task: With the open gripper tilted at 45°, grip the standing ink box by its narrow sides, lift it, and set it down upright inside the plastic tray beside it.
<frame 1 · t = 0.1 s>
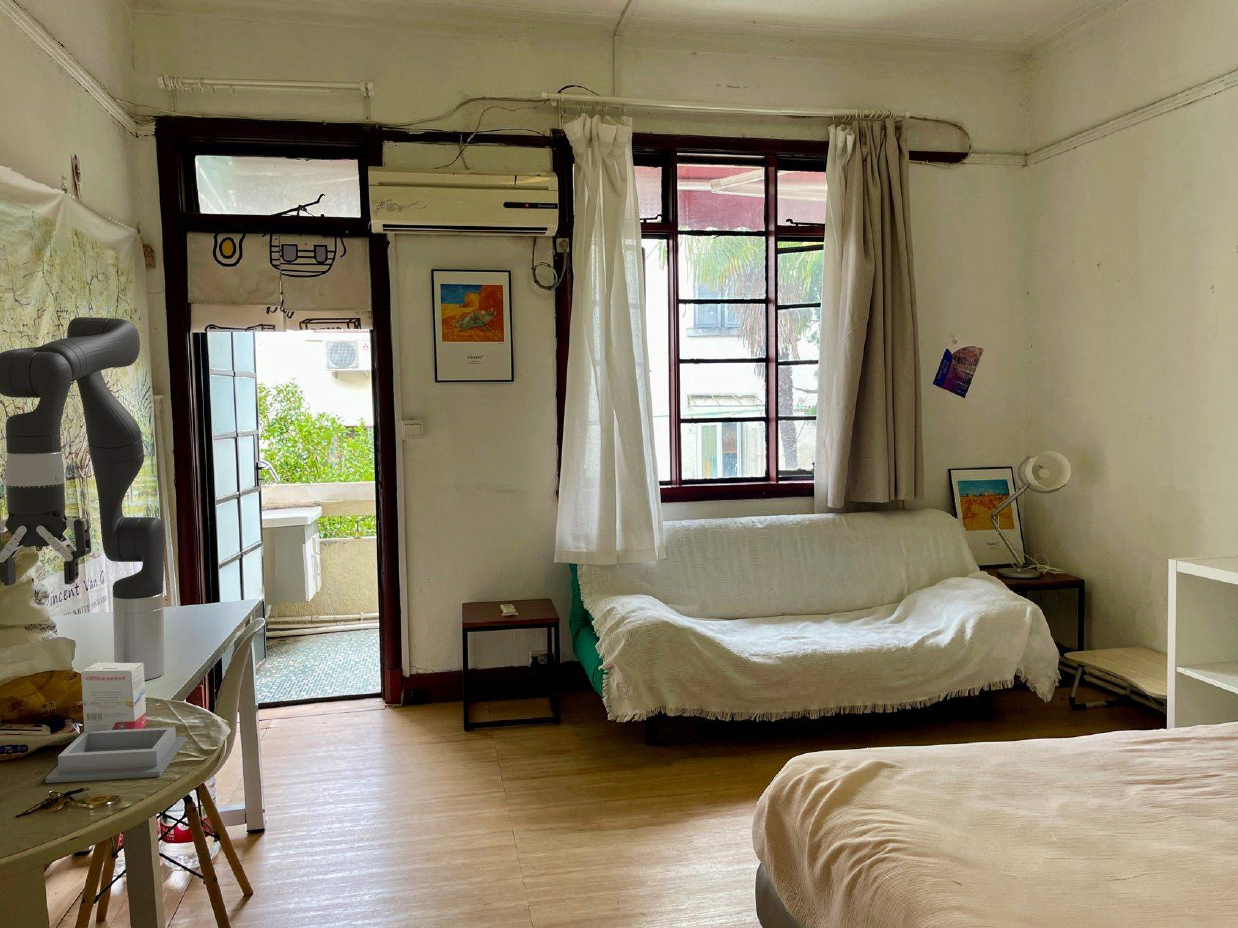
hand: (39, 584, 137), 29 cm above the table, tool pointing down, fingers open, 8 cm apart
tray: (119, 760, 142), on the table
ink box: (115, 733, 153), on the table
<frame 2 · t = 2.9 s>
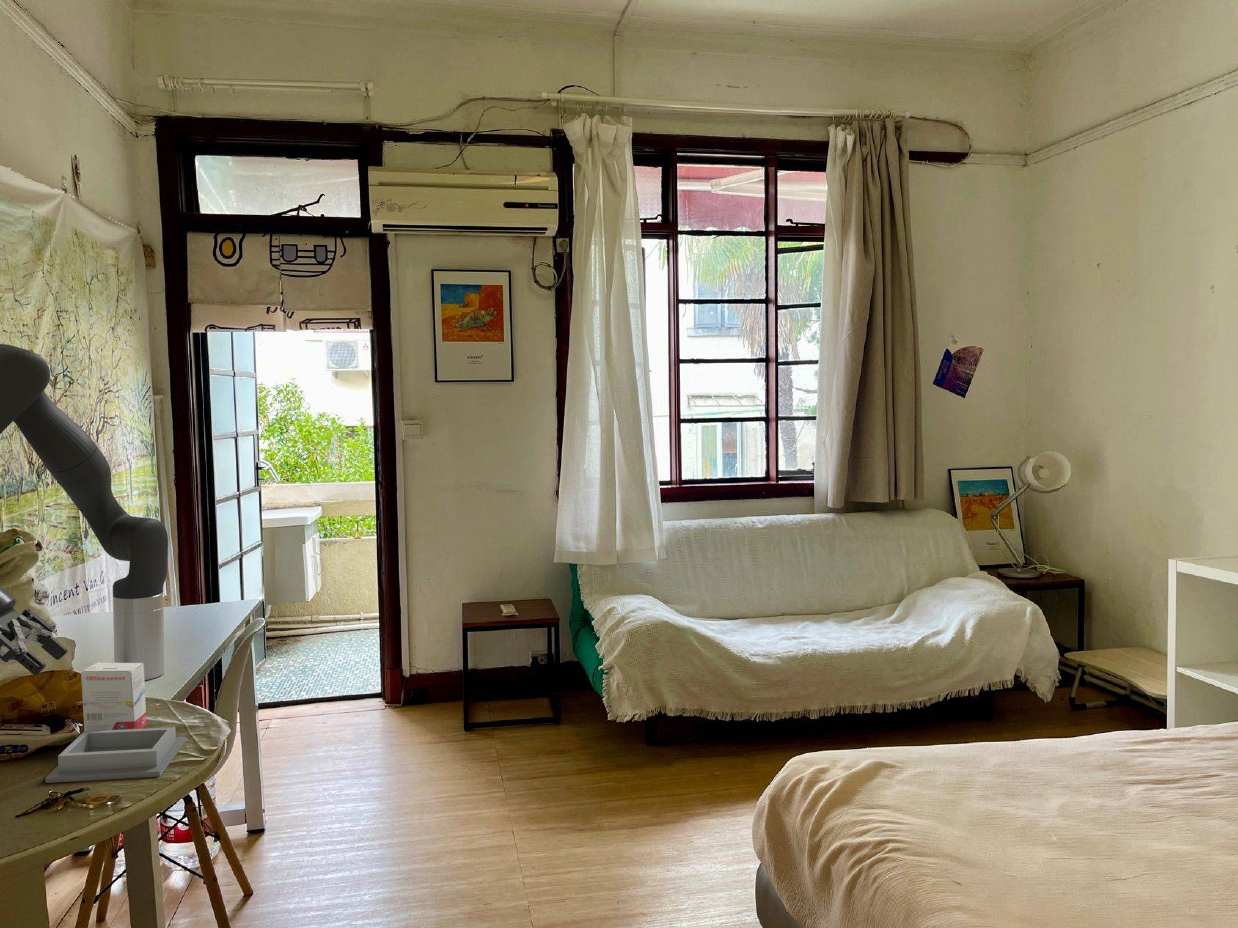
hand: (52, 662, 150), 13 cm above the table, tool tilted 45°, fingers open, 8 cm apart
nothing on the table moved.
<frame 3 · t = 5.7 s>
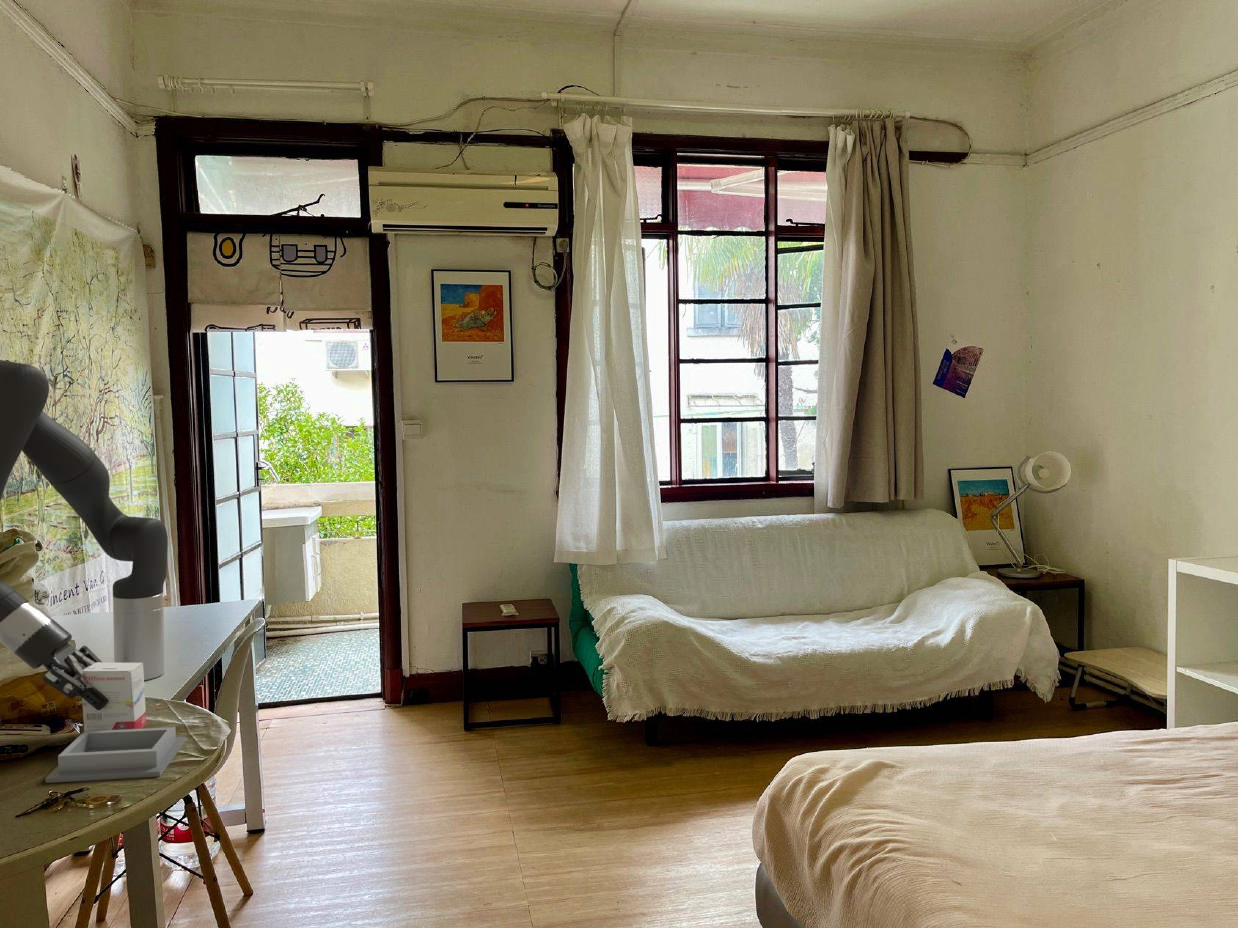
hand: (110, 699, 153), 6 cm above the table, tool tilted 45°, fingers closed on ink box, 5 cm apart
ink box: (115, 732, 153), on the table, touching gripper
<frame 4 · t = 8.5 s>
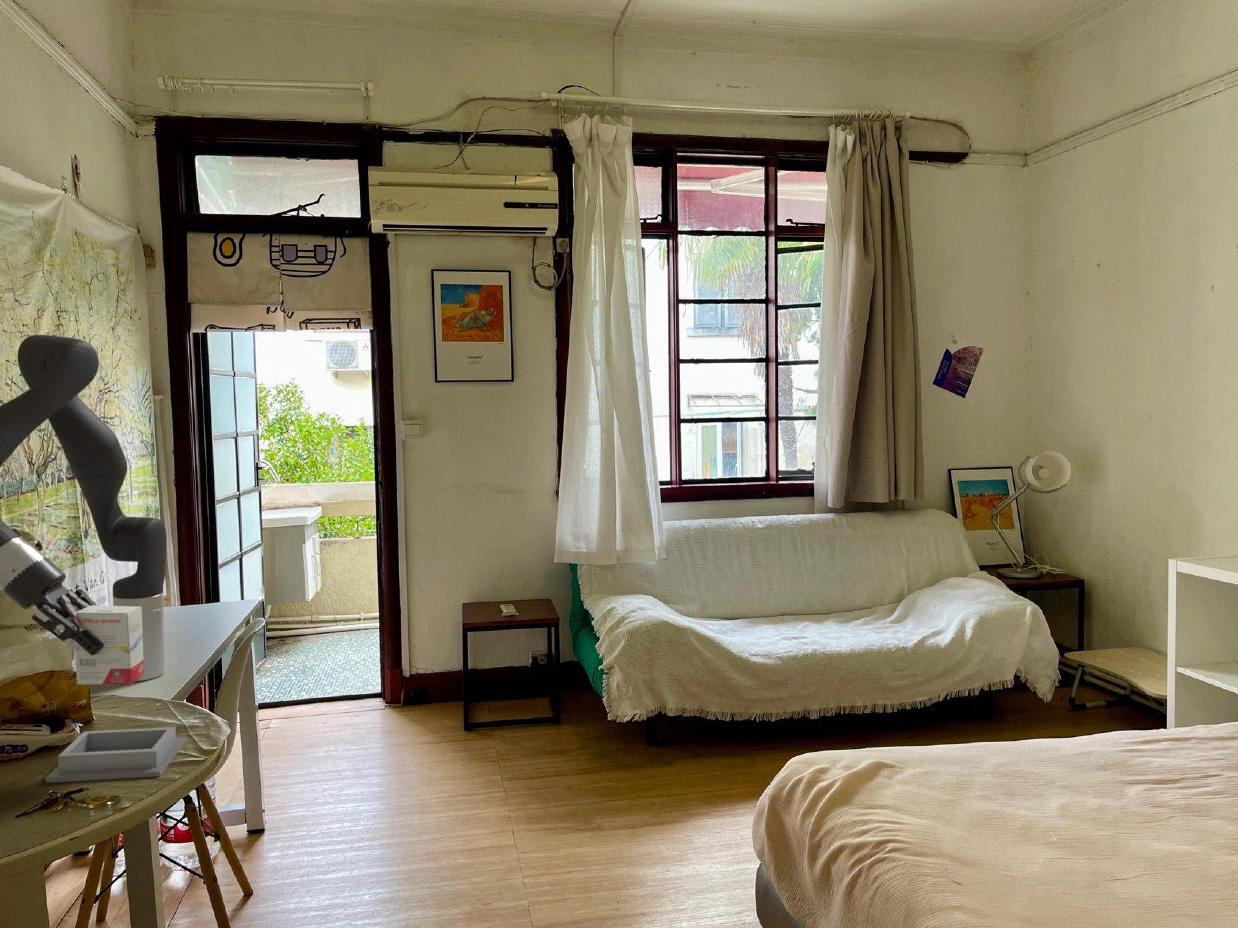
hand: (106, 645, 141), 19 cm above the table, tool tilted 45°, fingers closed on ink box, 5 cm apart
ink box: (110, 681, 142), point 13 cm above the table, touching gripper
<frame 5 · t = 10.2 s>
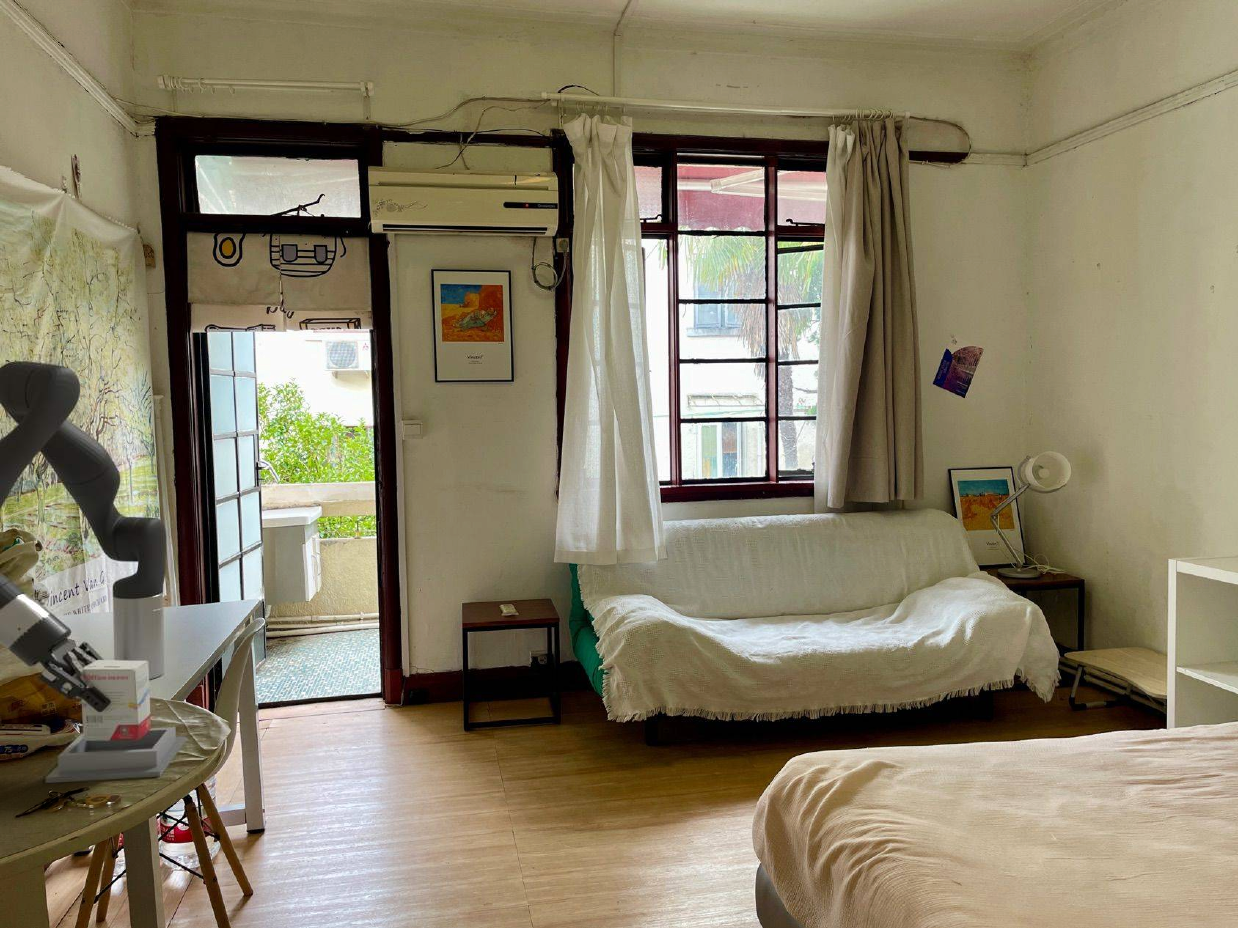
hand: (112, 700, 141), 10 cm above the table, tool tilted 45°, fingers closed on ink box, 5 cm apart
ink box: (117, 736, 141), point 4 cm above the table, touching gripper
when the fingers open (8 cm above the table, at t = 11.5 s): ink box drops 1 cm, resting on tray.
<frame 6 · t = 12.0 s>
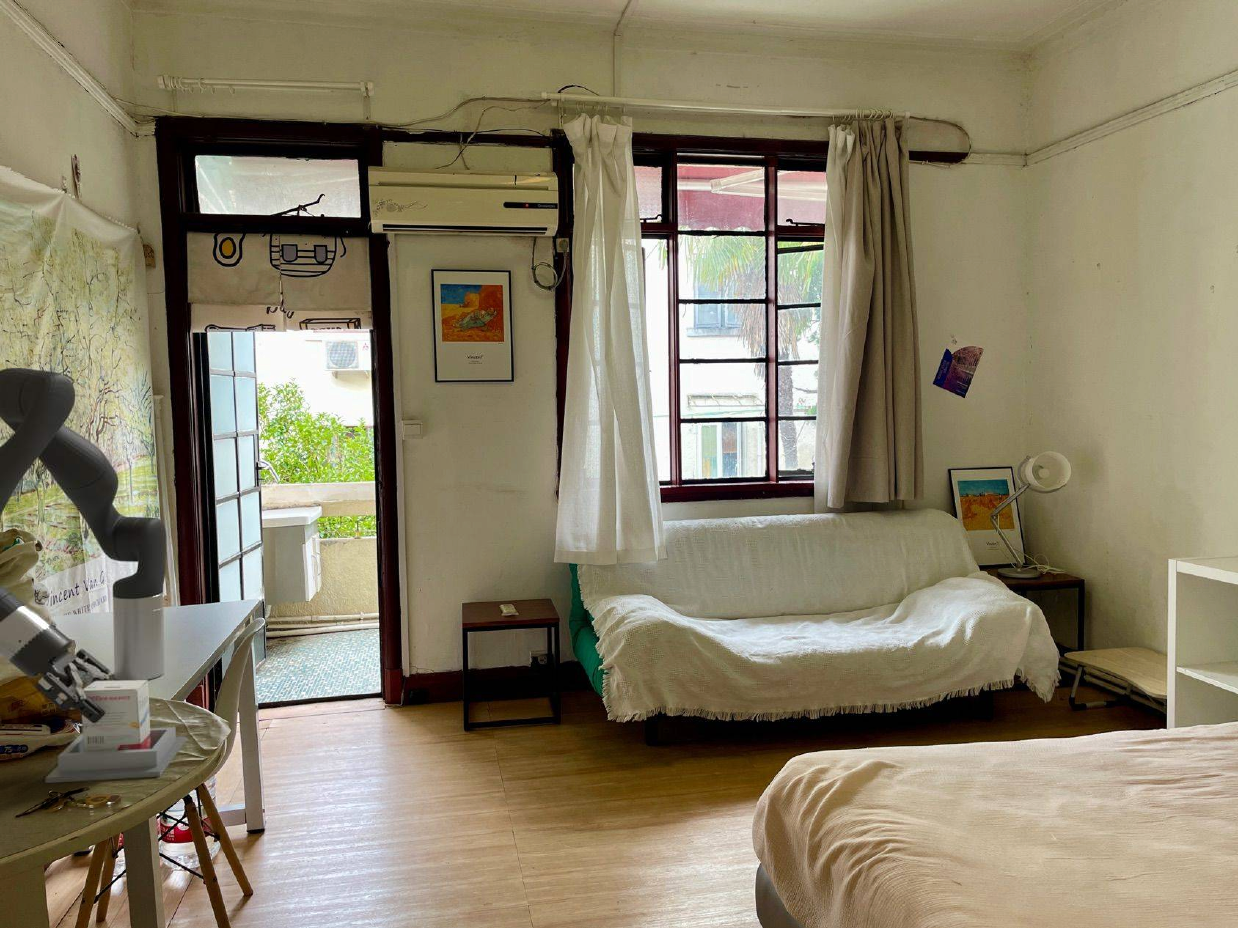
hand: (110, 708, 141), 9 cm above the table, tool tilted 45°, fingers open, 8 cm apart
ink box: (117, 756, 142), point 1 cm above the table, touching tray
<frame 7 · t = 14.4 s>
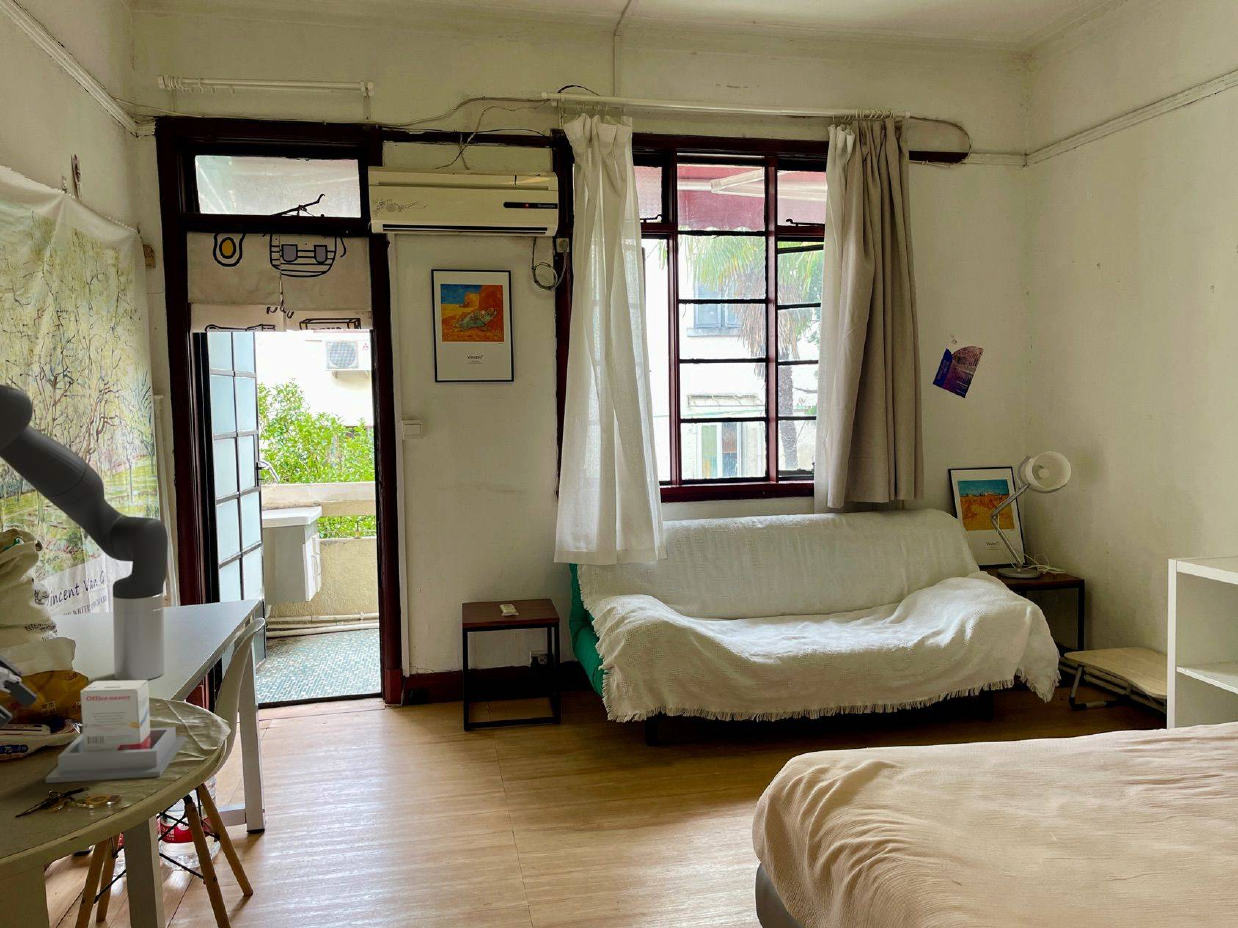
hand: (20, 712, 138), 9 cm above the table, tool tilted 45°, fingers open, 8 cm apart
nothing on the table moved.
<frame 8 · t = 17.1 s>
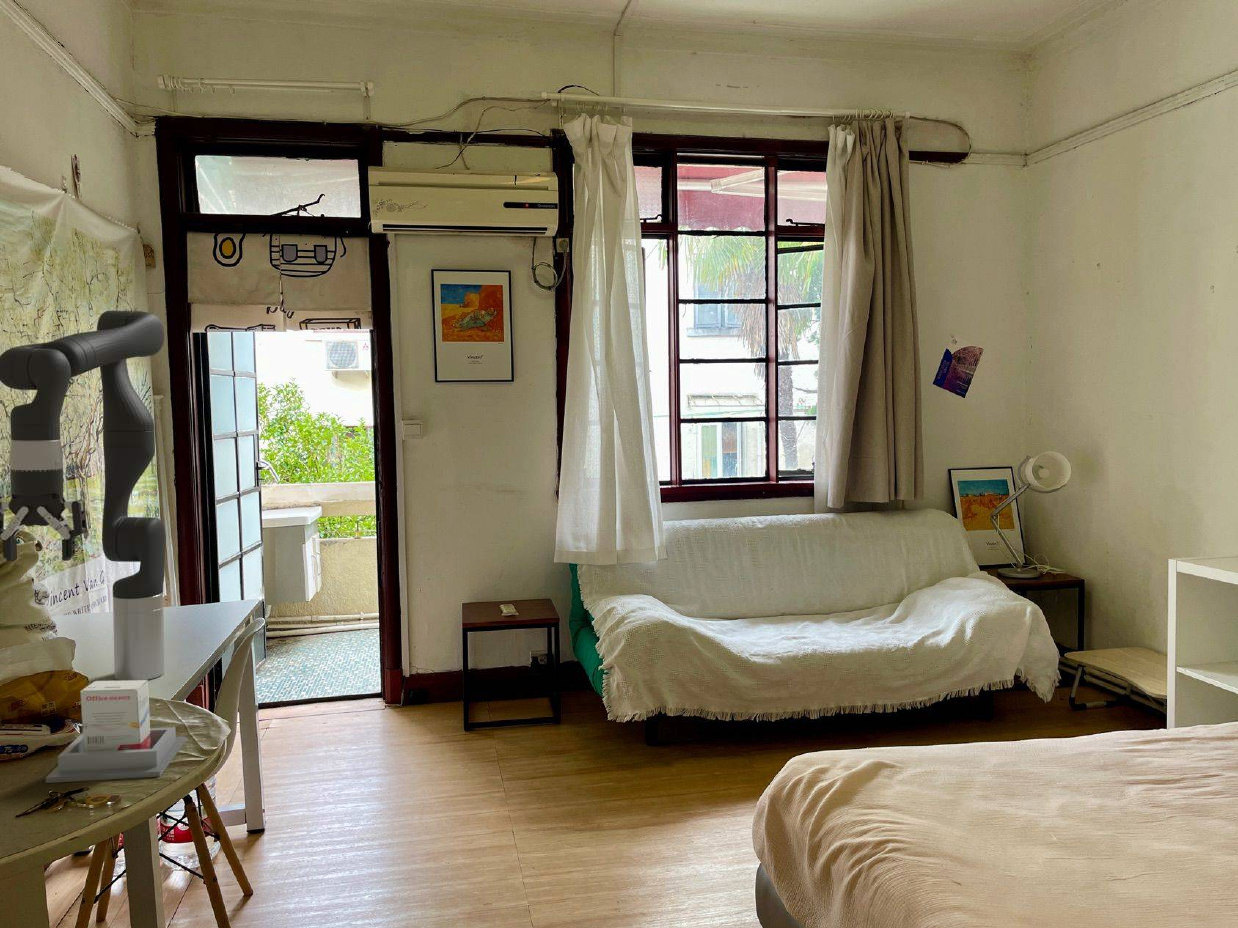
hand: (39, 560, 151), 30 cm above the table, tool pointing down, fingers open, 8 cm apart
nothing on the table moved.
at the end: ink box 0.4 cm off-centre on the tray, point 0.6 cm above the tray's base; ink box tilted 0°; the gripper is holding nothing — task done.
